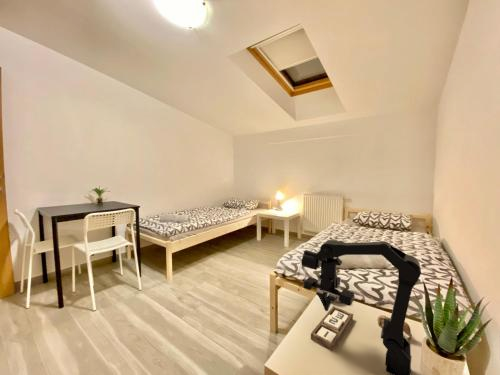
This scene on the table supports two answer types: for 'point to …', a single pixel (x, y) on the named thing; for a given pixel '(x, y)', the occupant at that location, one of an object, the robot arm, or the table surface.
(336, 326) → the tile
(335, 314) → the tile
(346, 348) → the table surface
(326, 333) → the tile
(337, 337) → the tile rack
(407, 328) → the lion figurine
